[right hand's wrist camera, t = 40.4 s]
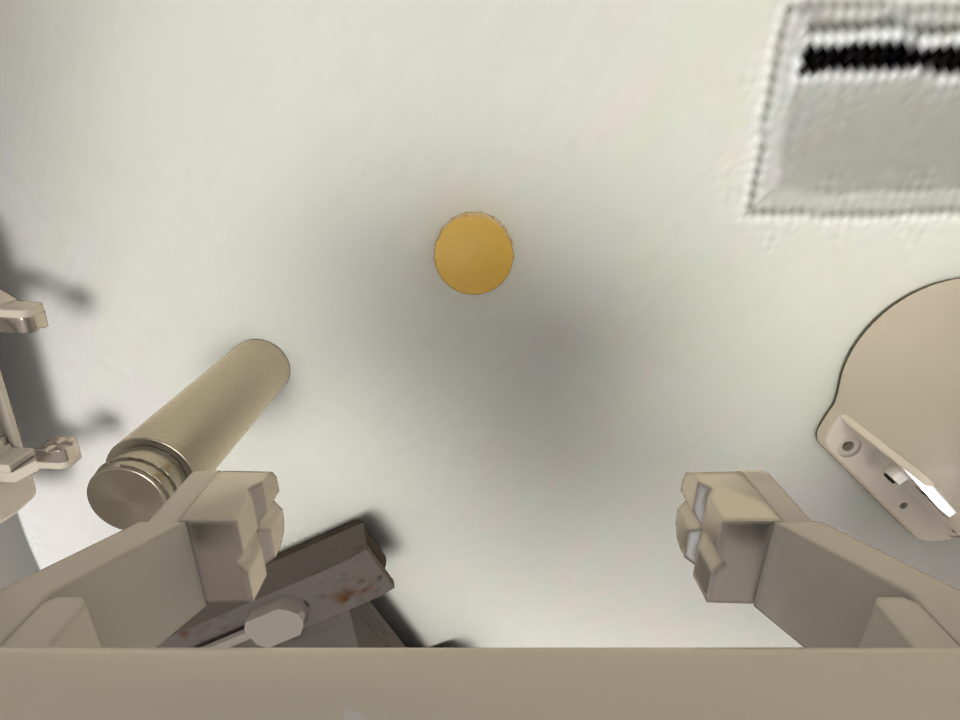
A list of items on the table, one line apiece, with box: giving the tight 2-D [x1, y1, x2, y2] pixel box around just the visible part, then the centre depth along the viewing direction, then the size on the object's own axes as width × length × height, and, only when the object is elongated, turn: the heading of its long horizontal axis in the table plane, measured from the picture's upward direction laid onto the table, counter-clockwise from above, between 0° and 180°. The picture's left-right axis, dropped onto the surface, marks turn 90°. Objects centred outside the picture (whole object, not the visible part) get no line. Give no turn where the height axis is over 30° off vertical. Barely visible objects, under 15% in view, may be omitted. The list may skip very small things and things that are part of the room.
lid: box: [434, 212, 514, 295], centre depth 35 cm, size 5×5×2 cm
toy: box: [156, 520, 451, 648], centre depth 42 cm, size 25×20×15 cm
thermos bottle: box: [87, 339, 290, 530], centre depth 32 cm, size 4×4×16 cm
